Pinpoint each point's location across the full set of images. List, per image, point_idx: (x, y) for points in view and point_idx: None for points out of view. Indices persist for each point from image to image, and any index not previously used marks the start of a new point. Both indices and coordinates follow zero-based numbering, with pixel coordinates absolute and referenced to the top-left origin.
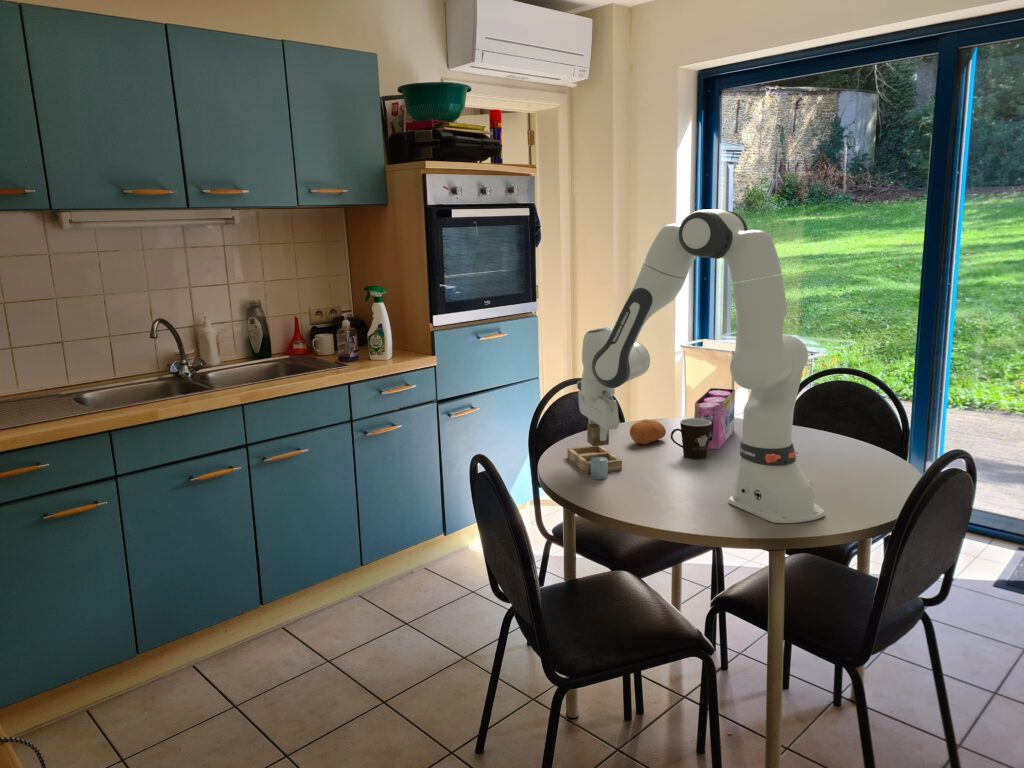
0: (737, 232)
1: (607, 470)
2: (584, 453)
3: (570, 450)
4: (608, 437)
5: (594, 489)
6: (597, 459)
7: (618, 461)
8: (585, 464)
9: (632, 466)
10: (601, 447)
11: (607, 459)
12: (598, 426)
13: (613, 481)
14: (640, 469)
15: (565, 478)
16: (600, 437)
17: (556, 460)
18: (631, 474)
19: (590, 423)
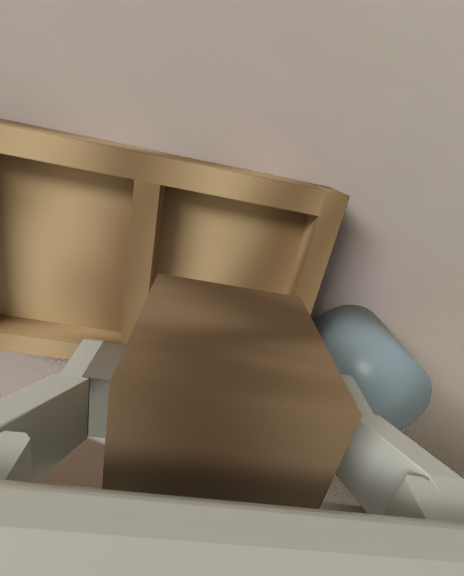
0: None
1: (392, 334)
2: (11, 251)
3: (10, 350)
4: (315, 333)
5: (439, 415)
6: (376, 407)
7: (339, 219)
8: None
9: (314, 82)
10: (2, 142)
11: (417, 366)
12: (259, 497)
13: (427, 316)
14: (391, 73)
15: None
16: None
17: (27, 376)
18: (418, 184)
19: (32, 479)
